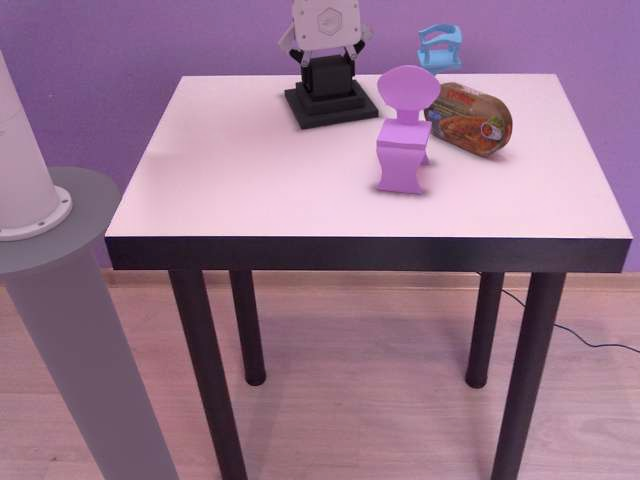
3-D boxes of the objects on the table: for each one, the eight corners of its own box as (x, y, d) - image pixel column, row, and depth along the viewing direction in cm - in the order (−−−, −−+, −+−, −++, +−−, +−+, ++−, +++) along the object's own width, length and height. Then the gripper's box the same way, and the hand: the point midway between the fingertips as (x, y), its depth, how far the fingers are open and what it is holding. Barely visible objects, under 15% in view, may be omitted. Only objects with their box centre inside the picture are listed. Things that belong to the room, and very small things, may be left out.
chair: (409, 89, 109) (411, 19, 102) (456, 86, 109) (462, 17, 102) (414, 108, 103) (417, 36, 96) (464, 106, 103) (471, 34, 96)
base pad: (301, 129, 99) (299, 112, 97) (284, 96, 108) (282, 79, 107) (378, 116, 101) (378, 99, 100) (355, 85, 111) (355, 69, 109)
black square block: (315, 96, 100) (314, 72, 97) (307, 82, 104) (305, 58, 102) (351, 91, 101) (350, 67, 99) (341, 77, 106) (340, 54, 103)
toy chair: (368, 190, 85) (367, 86, 75) (380, 158, 91) (381, 58, 82) (429, 197, 83) (436, 91, 74) (437, 163, 90) (444, 62, 80)
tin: (420, 129, 98) (423, 78, 92) (434, 123, 99) (437, 72, 94) (498, 165, 89) (506, 110, 84) (511, 157, 91) (520, 103, 85)
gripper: (269, -20, 86) (282, 101, 98) (386, -33, 90) (385, 85, 101) (260, -34, 92) (273, 82, 104) (370, -46, 95) (371, 68, 107)
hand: (328, 83), depth 102 cm, fingers closed on black square block, 6 cm apart
